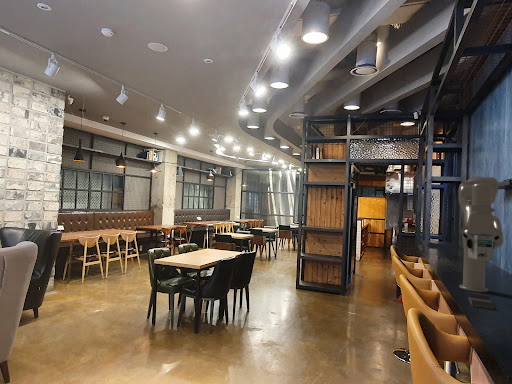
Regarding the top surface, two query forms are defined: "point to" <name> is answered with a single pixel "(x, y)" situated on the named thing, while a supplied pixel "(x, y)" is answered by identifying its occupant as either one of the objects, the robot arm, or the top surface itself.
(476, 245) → the light bulb box
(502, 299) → the top surface
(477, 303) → the tray
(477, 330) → the top surface
